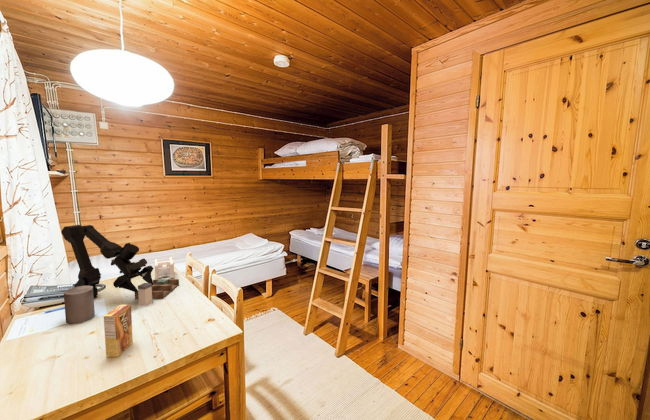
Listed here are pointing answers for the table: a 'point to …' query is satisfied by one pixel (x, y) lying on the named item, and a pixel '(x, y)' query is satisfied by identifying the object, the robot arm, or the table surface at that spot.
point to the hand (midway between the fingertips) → (145, 288)
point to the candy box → (118, 330)
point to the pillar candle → (79, 304)
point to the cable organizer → (164, 268)
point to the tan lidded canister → (145, 294)
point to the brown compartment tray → (162, 288)
